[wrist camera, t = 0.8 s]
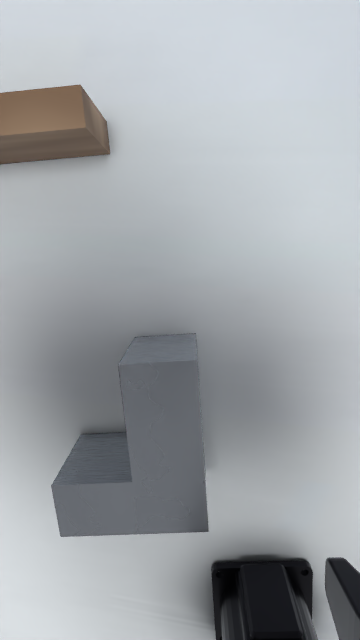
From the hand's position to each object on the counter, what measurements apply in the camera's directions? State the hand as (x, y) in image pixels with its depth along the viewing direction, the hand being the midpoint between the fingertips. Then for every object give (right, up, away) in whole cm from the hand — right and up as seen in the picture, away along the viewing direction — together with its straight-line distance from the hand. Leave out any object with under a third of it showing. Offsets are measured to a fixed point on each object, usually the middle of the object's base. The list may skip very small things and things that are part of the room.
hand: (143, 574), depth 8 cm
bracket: (-2, +1, +12) cm, 12 cm away
